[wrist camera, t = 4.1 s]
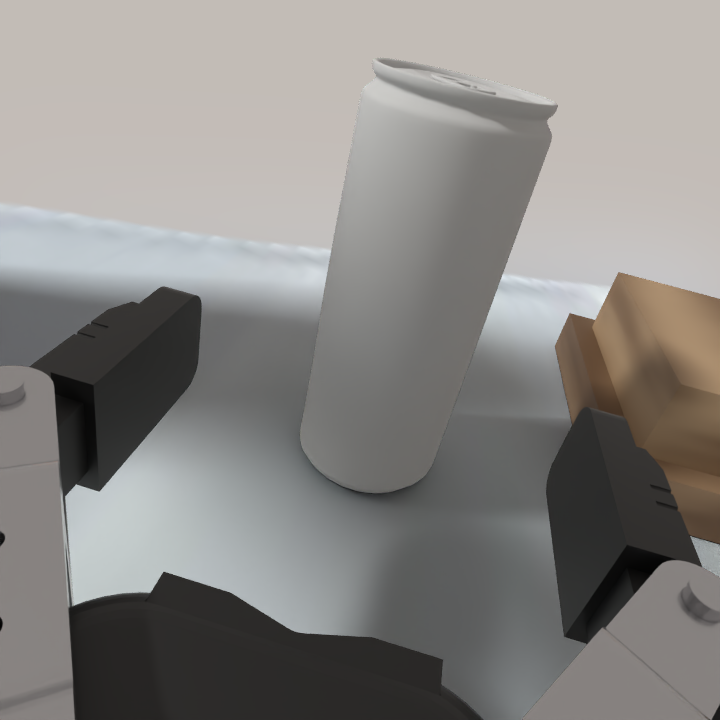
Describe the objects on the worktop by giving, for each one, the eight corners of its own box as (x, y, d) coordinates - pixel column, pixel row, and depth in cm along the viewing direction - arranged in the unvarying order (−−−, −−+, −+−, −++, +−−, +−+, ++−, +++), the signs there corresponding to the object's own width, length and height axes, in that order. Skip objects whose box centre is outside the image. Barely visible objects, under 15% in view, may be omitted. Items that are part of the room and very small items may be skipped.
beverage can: (324, 516, 17) (431, 85, 11) (277, 415, 21) (337, 46, 14) (455, 489, 19) (606, 117, 13) (392, 402, 23) (487, 77, 16)
